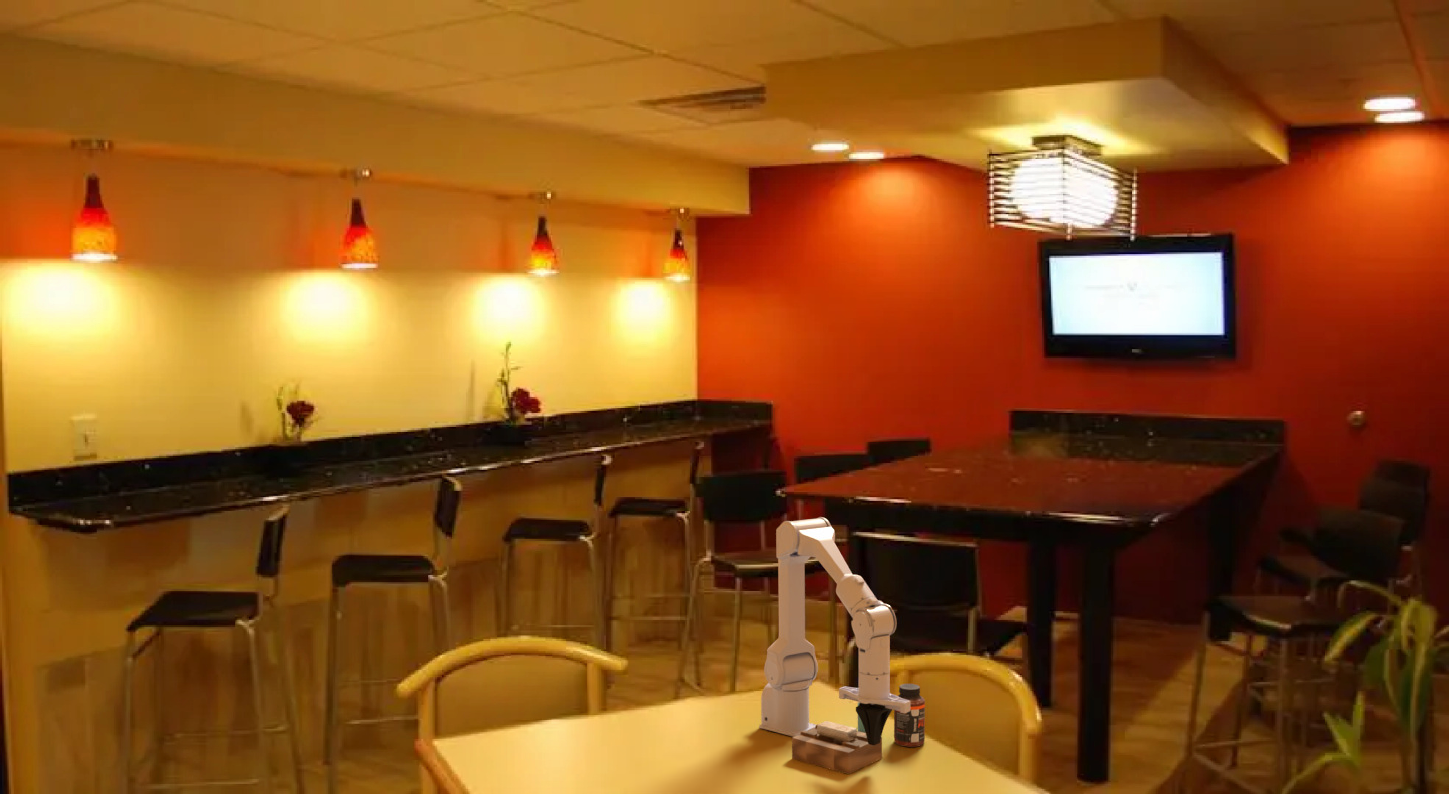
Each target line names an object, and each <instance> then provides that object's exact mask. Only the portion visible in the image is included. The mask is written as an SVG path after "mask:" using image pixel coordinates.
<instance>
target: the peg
mask: <svg viewBox="0 0 1449 794" xmlns="http://www.w3.org/2000/svg"><path fill="white" fill-rule="evenodd" d="M859 704H860V702H858V701H857V706H859ZM857 731H859V732H863V733H866V732H865V729H864V726H863V723H862V721H861V719H860V717H859V715H858V714H857Z"/></svg>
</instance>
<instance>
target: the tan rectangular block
mask: <svg viewBox="0 0 1449 794" xmlns="http://www.w3.org/2000/svg"><path fill="white" fill-rule="evenodd" d="M817 724H818V725H817ZM817 724H816V725H817V734H819V735H823V736H826V737H830V738H834V739H838V740H842V741H846V742H849V741H851V740H853V739H855V738H857V731H858V727H857V728H856V727H853V726H849V725H844V724H841V723H837V722H832V721H828V720H825V721H823V722H821V723H817Z"/></svg>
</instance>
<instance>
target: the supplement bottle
mask: <svg viewBox="0 0 1449 794" xmlns="http://www.w3.org/2000/svg"><path fill="white" fill-rule="evenodd" d="M898 692H899V695H897V696H898V697H900V698H903V699H905V700H909V701H910V711H909V712H907V713H905V714H904V713H900V711H897V710H893V711H894V712H893V714H894V715H893V718H894V719H893V720H894V722H893V723H894V724H893V732H894V733H893V738H894V742H895V744H897V745H899V746H902V747H905V746H906V747H908V748H910V747H911V748H916V747H917V748H918V747H920V746H923V744H925V735H926V734H925V733H926V732H925V731H926V730H925V729H926V726H925V725H926V724H925V723H926V722H925V721H926V718H925V717H926V714H925V712H926V707H925V706H926V705H925V704H926V700H925V698H923V696H921V695H920V694H921V687H920V686H919V685H918V684H914V683H903V684H900V685H899V690H898Z"/></svg>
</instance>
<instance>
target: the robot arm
mask: <svg viewBox="0 0 1449 794" xmlns="http://www.w3.org/2000/svg"><path fill="white" fill-rule="evenodd" d="M775 531H776V533H775V535H776V537H775V538H776V539H775V541H776V542H775V543H776V545H775V546H776V548H775V549H776V553H775V554H776V559H777V562H778V563H777V564H778V569H777V571H778V572H777V573H778V576H777V577H778V584H777V585H778V638H777V639H776V640H775V641H774V642H773V643H772V644H771V645H769V647H768V648H767V649H766V652H767V653H766V654H767V655H766V660H765V663H764V667H763V669H764V670H763V673H764V676H765V678H766V681H767V682H768V683H767V684H766V685H765V686H764V688H763V689H762V692H761V698H760V699H761V700H760V703H761V706H760V707H761V710H760V712H761V714H760V715H761V719H760V720H761V724H759V725H758V727H759V729H762V730H766V731H771V732H773V733H774V732H775V733H778V734H781V735H785V736H790V737H792V738H793V737H795V736H797V735H800V734H801V731H809V730H812V729H814V728H816V725H817V724H815V723H812V722H811V723H810V686H813V681H814V680H815V679H816V678H817V675H818V672H819V665H818V661H817V658H816V648H815V646H814V645H813V644H812V643H811V642H809V641H808V639H806V606H805V605H806V598H805V597H806V593H805V592H806V590H805V589H806V588H805V587H806V583H805V582H806V581H805V579H806V578H805V572H806V571H805V567H806V566H805V565H806V563H807V561H808V560H809V559H810V558H815V559H816V560H817V561H818V562H819V564H821V566H822V567H823V568H824V569H825V571H826V572H827V573H828V575H829V576H830V577H831V578H832V579H833V581H834V582H835V583H836V588H835V593H836V595H837V597H838V598H839V600H840V601H841V604H843V606H844V607H845V609H846V610H847V612H848V613H849V615H850V616H851V618H852V620H851V628H852V631H853V634H854V636H855V644H856V647H857V648H858V687H851V686H841V687H839V688H838V699H840V700H849V701H854V702H857V703H858V702H860V704H859V706H858V705H857V706H856V707H855V712H856V714H857V716H858V715H859V717H860V719H861V721H862V723H863V726H864V729H865V732H866V736H867V740H868V744H870V745H876V744H879V743H880V740H881V737H882V735H883V731H884V728H885V725H886V722H888V721H887V720H888V719H889V717H890V714H891V713H892V711H894V710H897V711H900V713H904V714H905V713H907V712H909V711H910V701H909V700H905V699H903V698H900V697H898V695H896V694H892V693H891V689H890V687H891V686H890V685H891V684H890V683H891V682H890V678H891V676H890V673H891V670H890V665H891V663H890V661H891V660H890V659H891V658H890V656H891V652H890V651H891V649H890V645H891V644H890V643H891V641H890V639H891V637H890V636H891V635H893V634H894V633H895V631H896V630H897V624H898V623H897V617H896V614H895V612H894V610H893V608H892V606H891V605H889V604H887V603H884V602H883V601H882V600H878V599H877V597H876V595H874V593H873V591H872V590H871V589H870V587H869V585H868V584H867V582H866V580H864V578H863V577H862V576H861V575H858V574H853V573H852V571H851V569H850V568H849V565H848V564H847V562H846V561H845V558H844V557H843V555H842V554H841V552H840V550H839V548H838V547H837V545H836V543H835V542H836V533H835V529H834V528H833V527H832V525H831V523H830V521H829V520H828V519H827V518H825V517H822V516H819V517H817V518H810V519H801V520H799V519H798V520H793V521H792V520H791V521H790V520H785V521H783V522H781V523H780V525H779V526H778V527H777V528H776V530H775Z"/></svg>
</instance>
